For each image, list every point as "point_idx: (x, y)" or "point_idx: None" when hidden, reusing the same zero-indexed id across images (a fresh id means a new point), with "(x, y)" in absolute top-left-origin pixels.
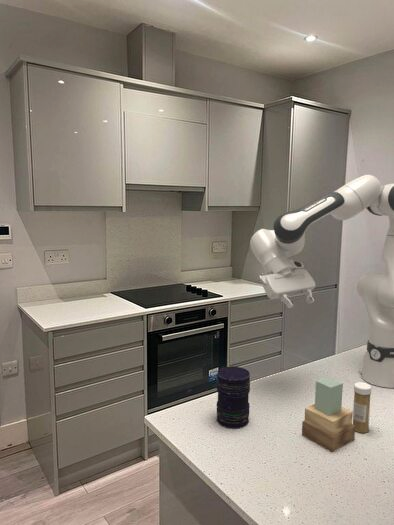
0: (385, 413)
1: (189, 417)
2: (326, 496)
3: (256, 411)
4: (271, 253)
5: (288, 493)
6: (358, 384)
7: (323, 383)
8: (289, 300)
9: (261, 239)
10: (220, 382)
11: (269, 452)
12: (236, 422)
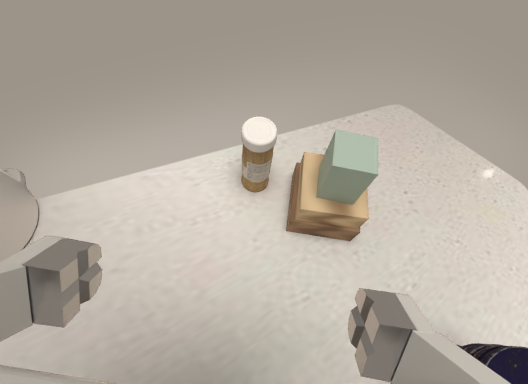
0: (167, 170)
1: None
2: (429, 153)
3: (358, 370)
4: None
5: (467, 185)
6: (261, 136)
7: (373, 157)
8: (431, 335)
9: None
10: None
11: (434, 251)
12: None
